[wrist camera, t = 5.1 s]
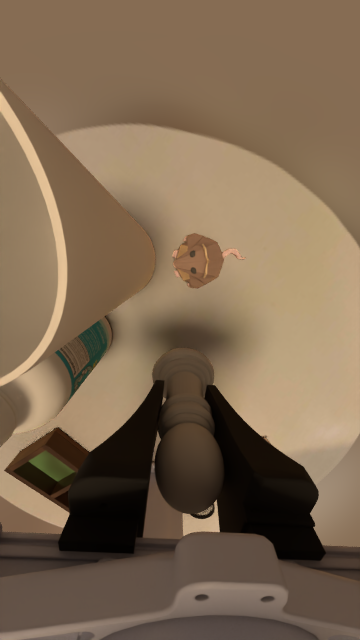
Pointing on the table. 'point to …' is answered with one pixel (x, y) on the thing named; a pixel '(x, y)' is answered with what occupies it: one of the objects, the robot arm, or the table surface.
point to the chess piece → (187, 433)
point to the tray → (49, 466)
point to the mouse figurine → (199, 260)
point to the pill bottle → (51, 382)
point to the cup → (57, 243)
